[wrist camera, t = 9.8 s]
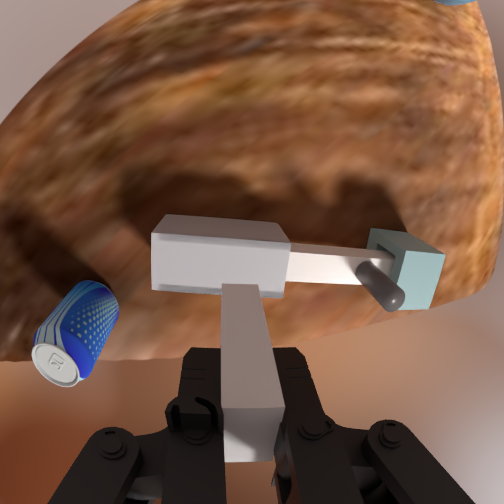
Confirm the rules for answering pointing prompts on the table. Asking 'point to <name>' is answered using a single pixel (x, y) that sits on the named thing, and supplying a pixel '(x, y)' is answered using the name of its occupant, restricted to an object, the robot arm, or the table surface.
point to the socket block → (410, 265)
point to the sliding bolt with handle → (347, 270)
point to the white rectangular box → (218, 255)
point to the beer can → (75, 333)
